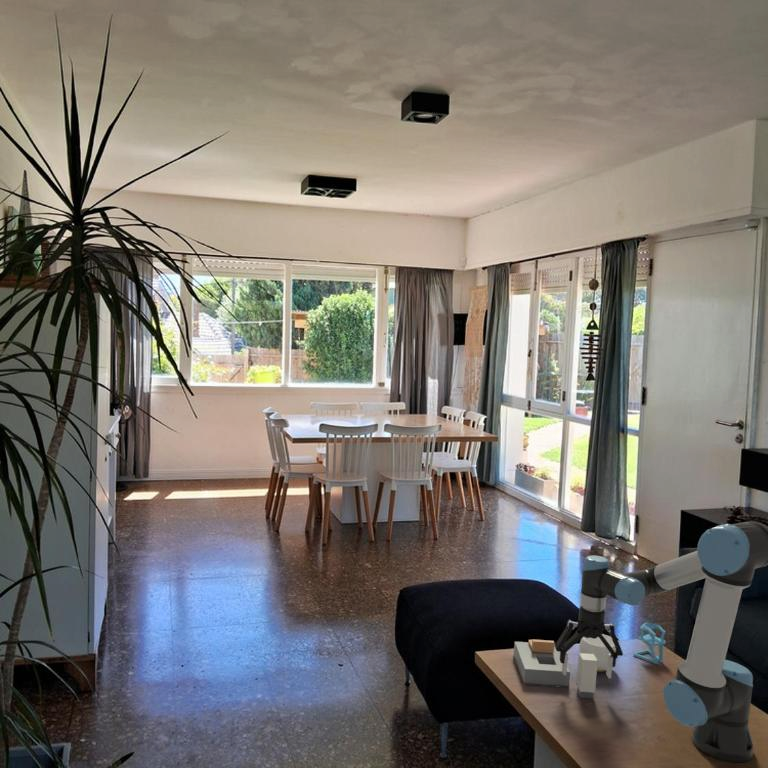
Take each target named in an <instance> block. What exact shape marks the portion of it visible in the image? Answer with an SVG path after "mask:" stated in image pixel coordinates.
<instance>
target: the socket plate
mask: <svg viewBox="0 0 768 768" xmlns="http://www.w3.org/2000/svg"><path fill="white" fill-rule="evenodd" d="M528 642H529V641H528ZM528 642H527V641H525V642H524V641H514V646H513V658H514V661H515V665H516V666H517V669H518V672H519V674H520V678H521V680H522V683H523V685H527V686H540V685H545V686H546V687H555V686H559V687H558V688H570V678H571V677H570V676H571V671H570V669H569V667H568V666H567V673H566V675H564V674H563V672H562V663H561V662H560V652H559V651H557V650H556V649H555V644H556V643H554V653H544V652H532V650H531V647H530V645H529V643H528Z"/></svg>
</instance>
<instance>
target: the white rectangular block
mask: <svg viewBox="0 0 768 768" xmlns="http://www.w3.org/2000/svg"><path fill="white" fill-rule="evenodd" d="M597 663H598V660H597V659H596V657H595V656H594V654H585V653H580V652H579V653H578V660H577V671H576V673H577V675H576V682H575V683H576V687H577V688H576V693H577V694H578V697H579V698H581V699H594V696H595V693H596V687H597V686H596V683H597V673H598V672H597Z"/></svg>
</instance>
